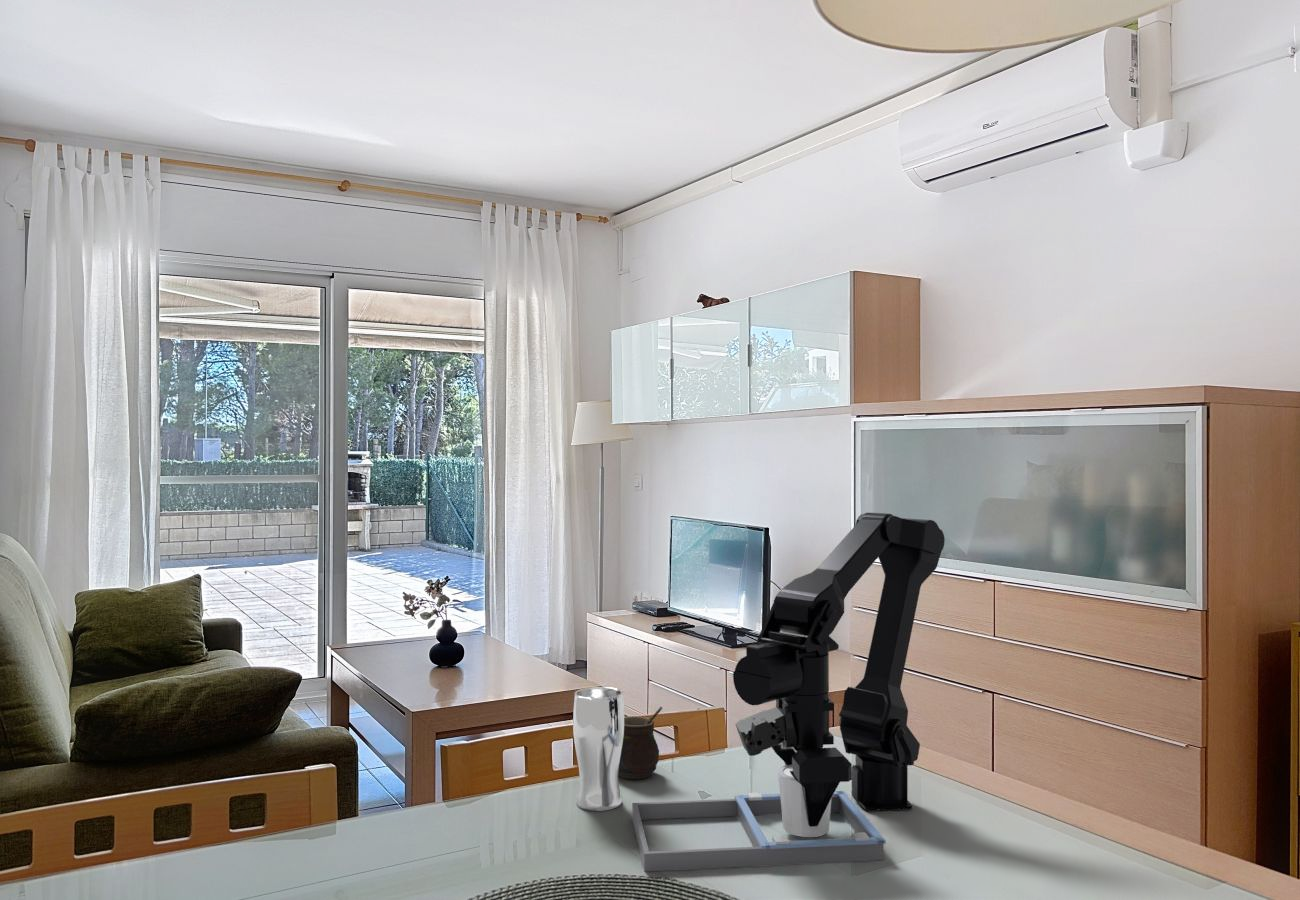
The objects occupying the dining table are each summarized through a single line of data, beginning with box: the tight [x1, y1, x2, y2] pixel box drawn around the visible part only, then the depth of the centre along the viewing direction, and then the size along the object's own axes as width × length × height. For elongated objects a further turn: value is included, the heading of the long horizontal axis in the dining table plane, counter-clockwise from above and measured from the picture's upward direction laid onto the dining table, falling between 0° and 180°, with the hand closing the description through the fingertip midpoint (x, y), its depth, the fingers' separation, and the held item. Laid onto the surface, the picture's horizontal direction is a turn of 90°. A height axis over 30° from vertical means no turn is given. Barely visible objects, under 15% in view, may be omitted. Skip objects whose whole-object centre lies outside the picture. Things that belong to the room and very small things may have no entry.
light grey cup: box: [777, 764, 832, 838], centre depth 122 cm, size 7×7×7 cm
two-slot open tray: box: [631, 790, 887, 872], centre depth 121 cm, size 28×16×3 cm, turn 96°
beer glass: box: [572, 686, 625, 812], centre depth 133 cm, size 7×7×15 cm
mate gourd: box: [618, 706, 663, 780], centre depth 144 cm, size 7×8×10 cm
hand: (805, 815), depth 122 cm, fingers closed on light grey cup, 6 cm apart
